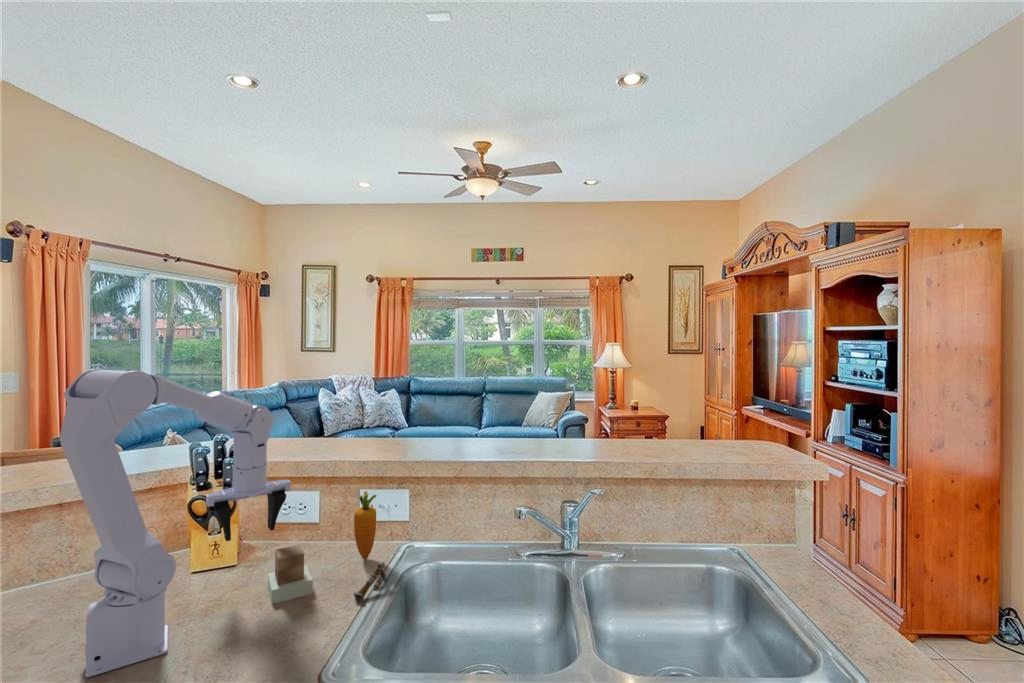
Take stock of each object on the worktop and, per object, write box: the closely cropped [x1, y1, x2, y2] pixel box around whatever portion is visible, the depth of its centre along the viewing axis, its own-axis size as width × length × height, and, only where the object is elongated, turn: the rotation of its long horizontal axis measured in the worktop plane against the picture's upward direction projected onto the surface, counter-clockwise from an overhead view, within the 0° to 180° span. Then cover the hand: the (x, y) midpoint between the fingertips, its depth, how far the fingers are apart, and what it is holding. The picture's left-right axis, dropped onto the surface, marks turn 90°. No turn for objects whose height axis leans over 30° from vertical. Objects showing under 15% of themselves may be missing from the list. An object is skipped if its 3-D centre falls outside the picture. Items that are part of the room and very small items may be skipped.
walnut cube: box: [274, 544, 305, 586], centre depth 91 cm, size 4×4×5 cm
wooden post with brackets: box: [353, 561, 388, 602], centre depth 91 cm, size 2×8×4 cm, turn 156°
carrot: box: [353, 490, 377, 561], centre depth 103 cm, size 5×5×15 cm
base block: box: [267, 564, 314, 605], centre depth 91 cm, size 7×7×3 cm
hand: (249, 533), depth 93 cm, fingers open, 7 cm apart
